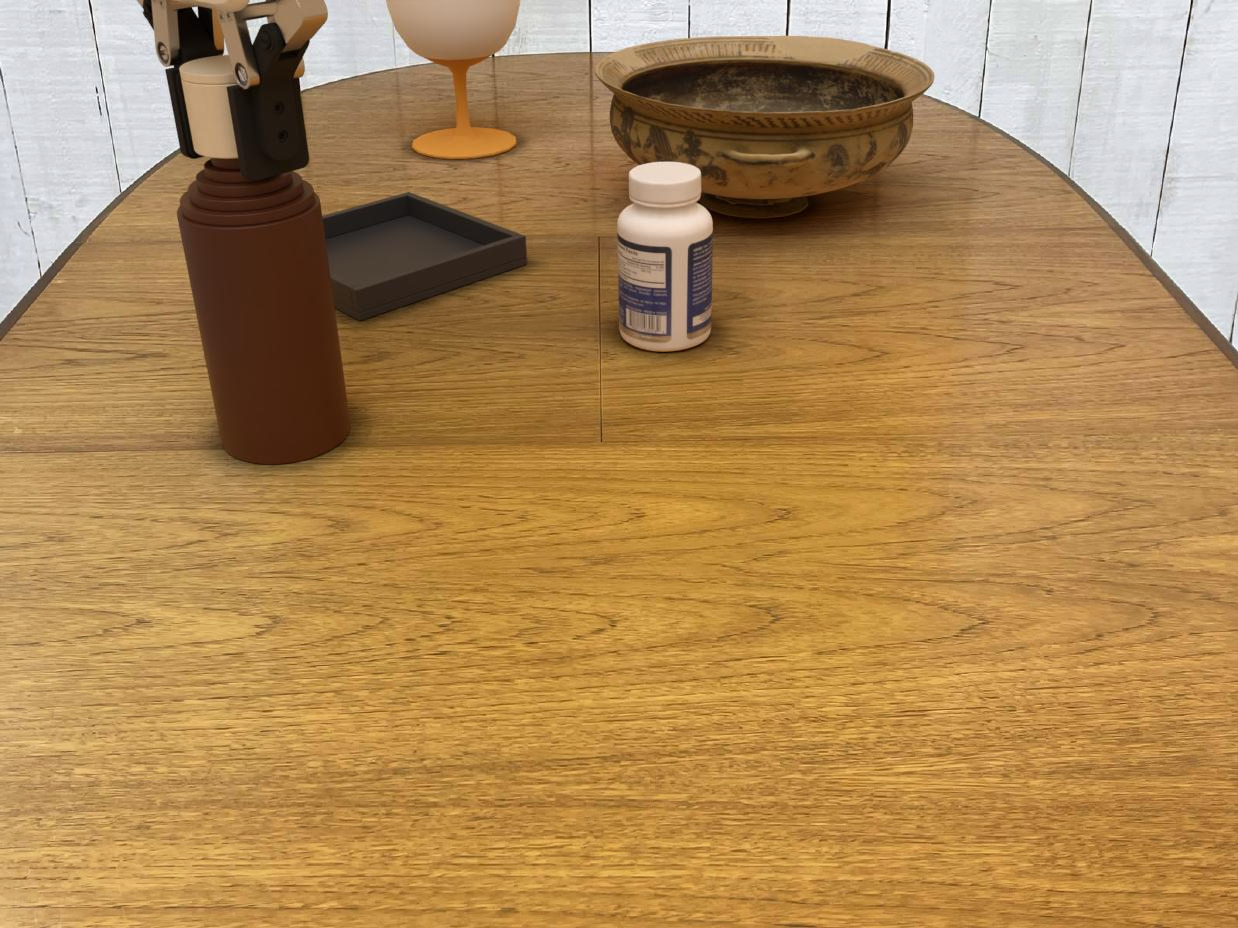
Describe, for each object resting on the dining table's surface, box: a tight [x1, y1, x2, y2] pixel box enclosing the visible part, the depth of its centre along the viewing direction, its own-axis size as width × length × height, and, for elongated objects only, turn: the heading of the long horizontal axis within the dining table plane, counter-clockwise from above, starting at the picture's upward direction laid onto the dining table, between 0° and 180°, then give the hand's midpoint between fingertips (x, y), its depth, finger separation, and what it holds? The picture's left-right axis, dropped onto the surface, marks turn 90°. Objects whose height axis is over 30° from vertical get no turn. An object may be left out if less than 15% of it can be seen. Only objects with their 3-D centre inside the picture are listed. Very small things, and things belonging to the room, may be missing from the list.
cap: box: [179, 54, 238, 159], centre depth 55 cm, size 4×4×4 cm
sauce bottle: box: [176, 158, 351, 465], centre depth 59 cm, size 6×6×18 cm
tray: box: [322, 191, 528, 322], centre depth 83 cm, size 13×13×2 cm
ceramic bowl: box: [594, 35, 935, 219], centre depth 92 cm, size 30×24×10 cm
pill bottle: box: [616, 162, 714, 353], centre depth 71 cm, size 5×5×10 cm
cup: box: [385, 0, 521, 160], centre depth 104 cm, size 12×12×17 cm
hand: (244, 157), depth 57 cm, fingers open, 4 cm apart
